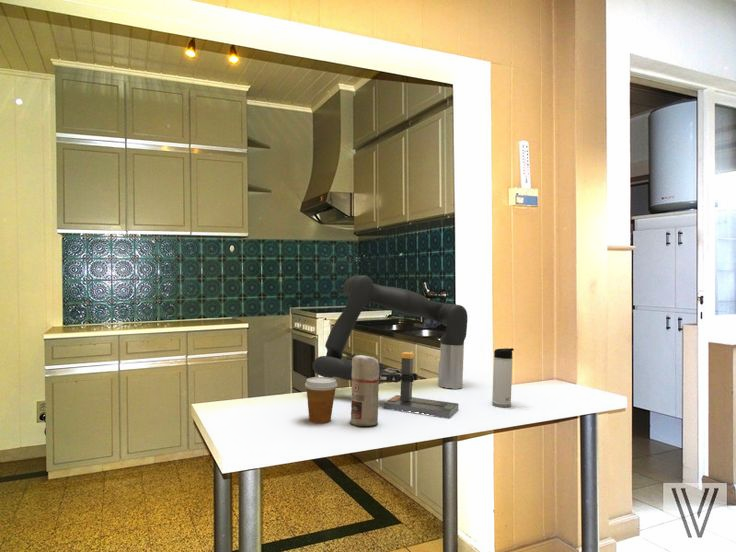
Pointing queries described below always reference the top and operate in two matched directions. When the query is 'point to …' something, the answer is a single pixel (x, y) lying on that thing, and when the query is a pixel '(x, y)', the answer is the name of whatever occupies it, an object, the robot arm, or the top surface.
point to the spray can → (364, 391)
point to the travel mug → (502, 377)
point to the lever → (408, 370)
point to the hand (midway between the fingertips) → (414, 377)
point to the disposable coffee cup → (320, 398)
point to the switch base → (422, 406)
